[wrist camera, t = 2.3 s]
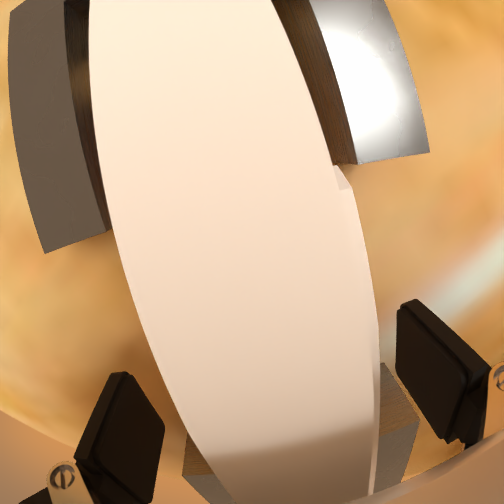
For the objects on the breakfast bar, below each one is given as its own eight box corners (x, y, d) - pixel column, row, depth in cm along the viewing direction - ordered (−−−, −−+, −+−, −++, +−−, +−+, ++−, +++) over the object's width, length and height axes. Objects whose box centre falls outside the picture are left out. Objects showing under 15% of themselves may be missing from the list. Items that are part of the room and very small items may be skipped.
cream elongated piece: (272, 461, 18) (282, 598, 6) (171, 117, 16) (55, -18, 3) (341, 443, 18) (388, 573, 6) (260, 93, 16) (271, -84, 3)
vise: (307, -24, 9) (334, -83, 4) (378, 442, 18) (398, 487, 14) (68, 43, 9) (10, 12, 5) (234, 476, 19) (236, 526, 14)
